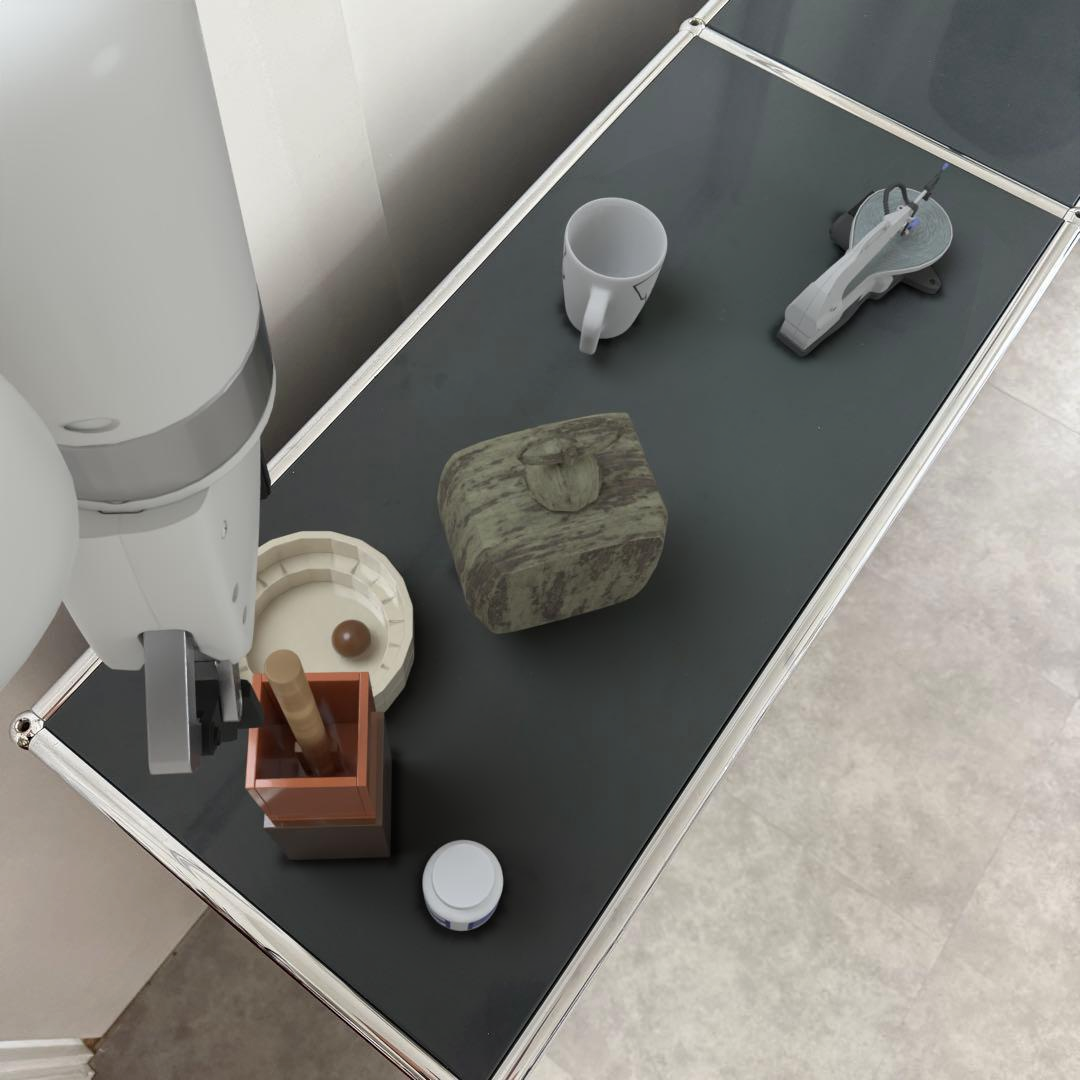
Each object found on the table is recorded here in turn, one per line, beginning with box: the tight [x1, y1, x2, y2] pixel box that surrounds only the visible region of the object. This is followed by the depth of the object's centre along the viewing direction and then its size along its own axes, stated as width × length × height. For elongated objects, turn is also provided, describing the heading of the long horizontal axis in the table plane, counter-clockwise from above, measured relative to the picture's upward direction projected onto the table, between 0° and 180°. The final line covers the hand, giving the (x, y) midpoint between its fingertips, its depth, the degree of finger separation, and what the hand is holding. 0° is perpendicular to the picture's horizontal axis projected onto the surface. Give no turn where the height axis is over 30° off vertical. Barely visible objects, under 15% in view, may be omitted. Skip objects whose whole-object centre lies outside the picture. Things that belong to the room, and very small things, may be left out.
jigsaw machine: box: [776, 162, 954, 358], centre depth 97 cm, size 20×11×12 cm
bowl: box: [214, 530, 415, 713], centre depth 81 cm, size 14×14×6 cm
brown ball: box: [331, 619, 372, 660], centre depth 82 cm, size 3×3×3 cm
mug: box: [561, 197, 668, 355], centre depth 93 cm, size 11×8×10 cm
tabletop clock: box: [436, 412, 669, 635], centre depth 76 cm, size 14×9×25 cm, turn 107°
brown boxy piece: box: [244, 672, 393, 861], centre depth 69 cm, size 7×7×23 cm
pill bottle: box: [421, 839, 504, 932], centre depth 73 cm, size 5×5×9 cm
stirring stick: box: [264, 649, 344, 778], centre depth 57 cm, size 2×2×20 cm
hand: (227, 602), depth 44 cm, fingers open, 9 cm apart
